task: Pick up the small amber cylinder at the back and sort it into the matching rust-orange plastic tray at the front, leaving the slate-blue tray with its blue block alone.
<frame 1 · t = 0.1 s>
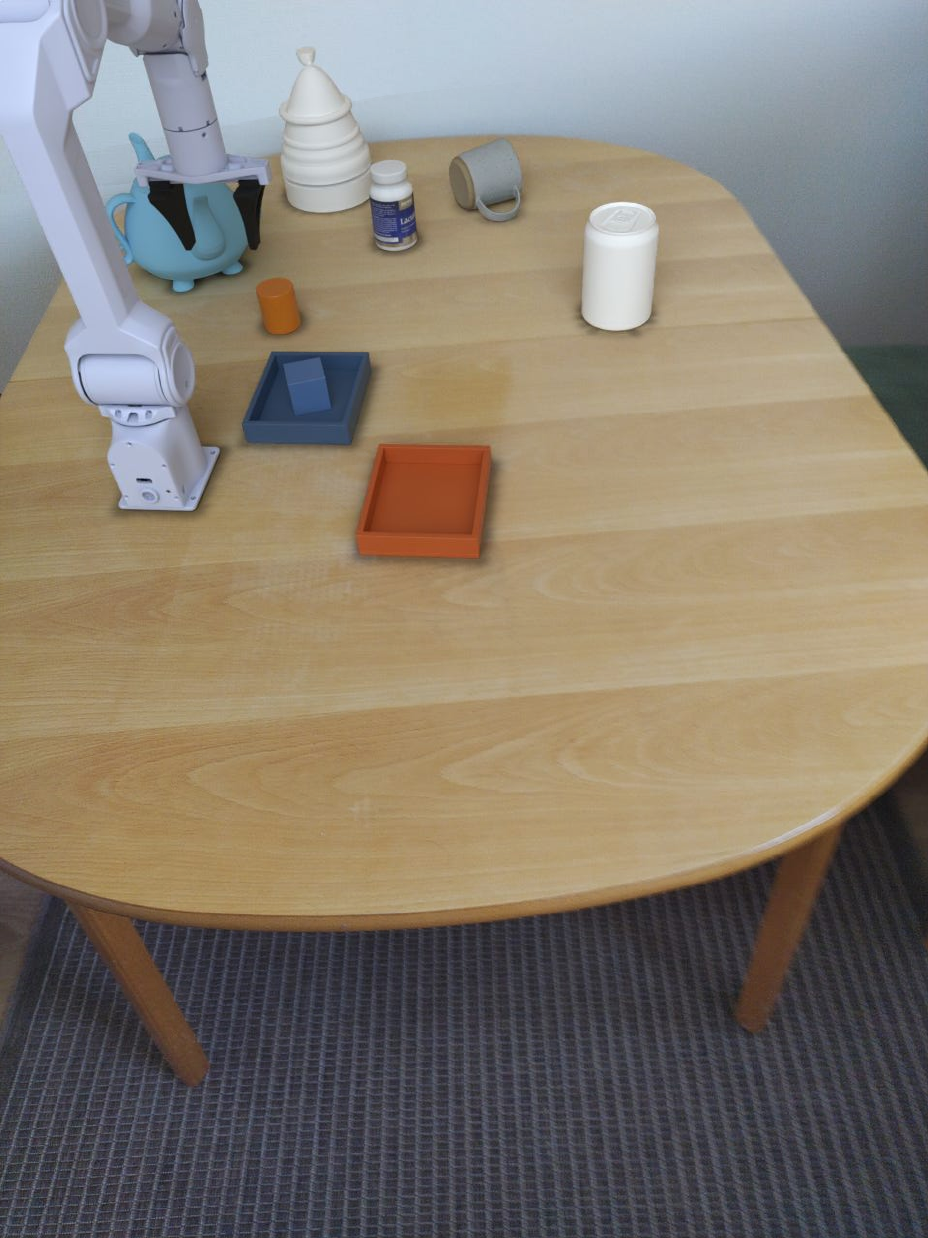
hand: (223, 245, 108), 10 cm above the table, tool pointing down, fingers open, 7 cm apart
ceramic mug: (492, 207, 132), on the table
honey pot: (331, 192, 138), on the table
blue block: (310, 401, 103), resting on blue tray
blue tray: (311, 405, 103), on the table
pill bottle: (397, 243, 126), on the table
orange tray: (428, 508, 91), on the table
beverage can: (615, 317, 111), on the table
teapot: (197, 267, 126), on the table
amber cylinder: (283, 324, 115), on the table
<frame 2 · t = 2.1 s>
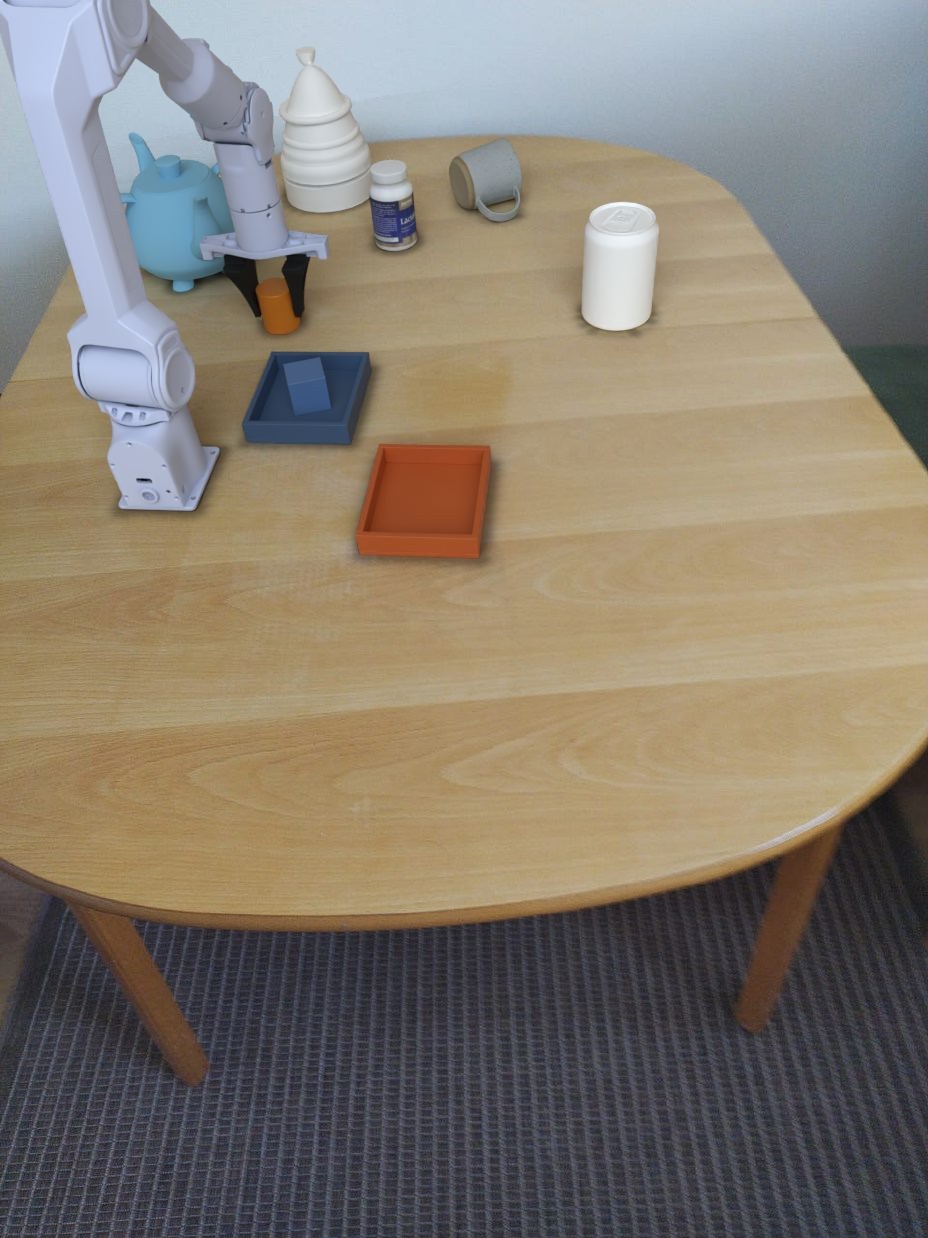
hand: (280, 312, 113), 2 cm above the table, tool pointing down, fingers closed on amber cylinder, 4 cm apart
amber cylinder: (282, 324, 115), on the table, touching gripper
everything else where it was.
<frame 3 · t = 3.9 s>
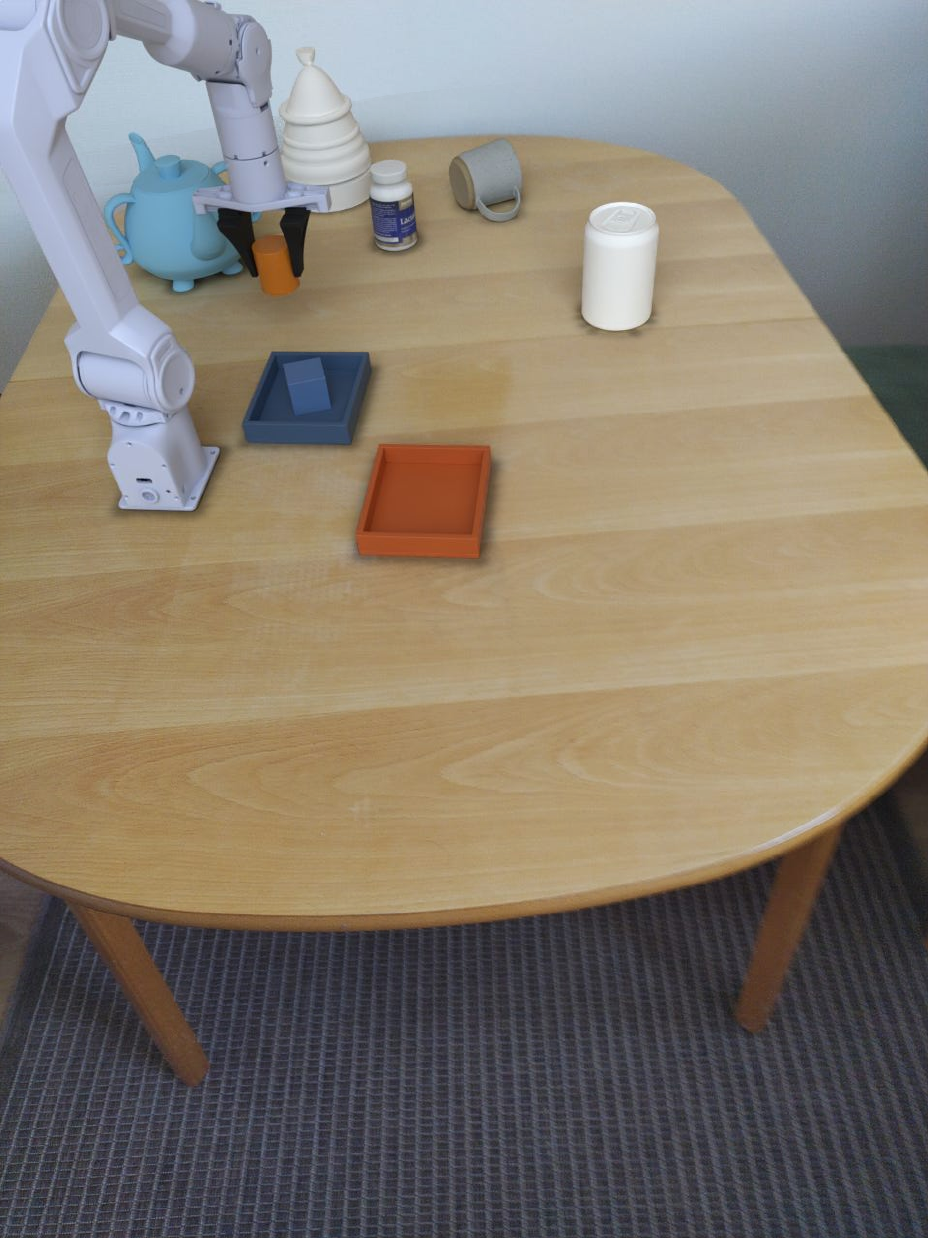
hand: (278, 272, 106), 8 cm above the table, tool pointing down, fingers closed on amber cylinder, 4 cm apart
amber cylinder: (280, 285, 108), point 7 cm above the table, touching gripper
everything else where it was.
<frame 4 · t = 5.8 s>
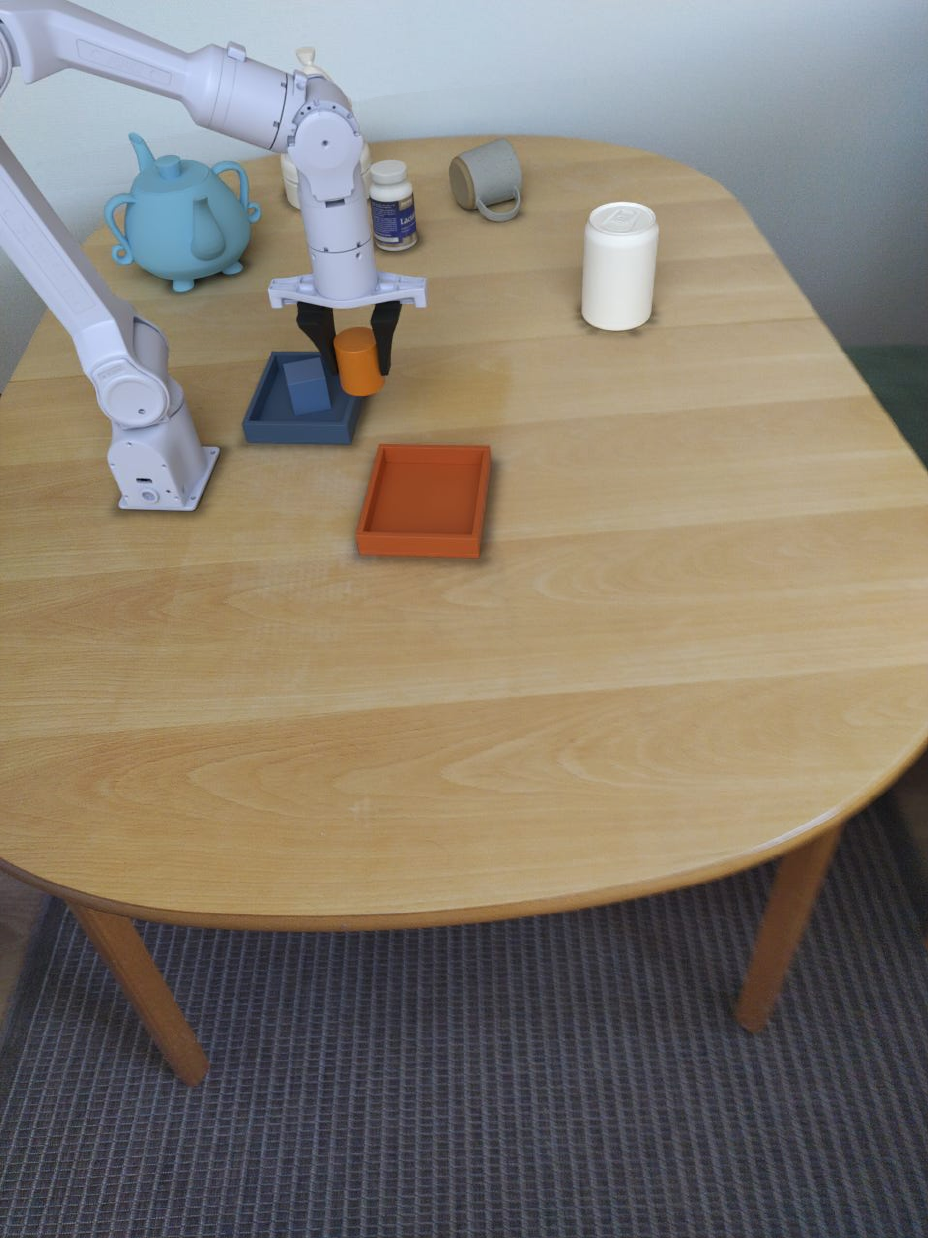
hand: (361, 369, 93), 8 cm above the table, tool pointing down, fingers closed on amber cylinder, 4 cm apart
amber cylinder: (363, 383, 94), point 7 cm above the table, touching gripper
everything else where it was.
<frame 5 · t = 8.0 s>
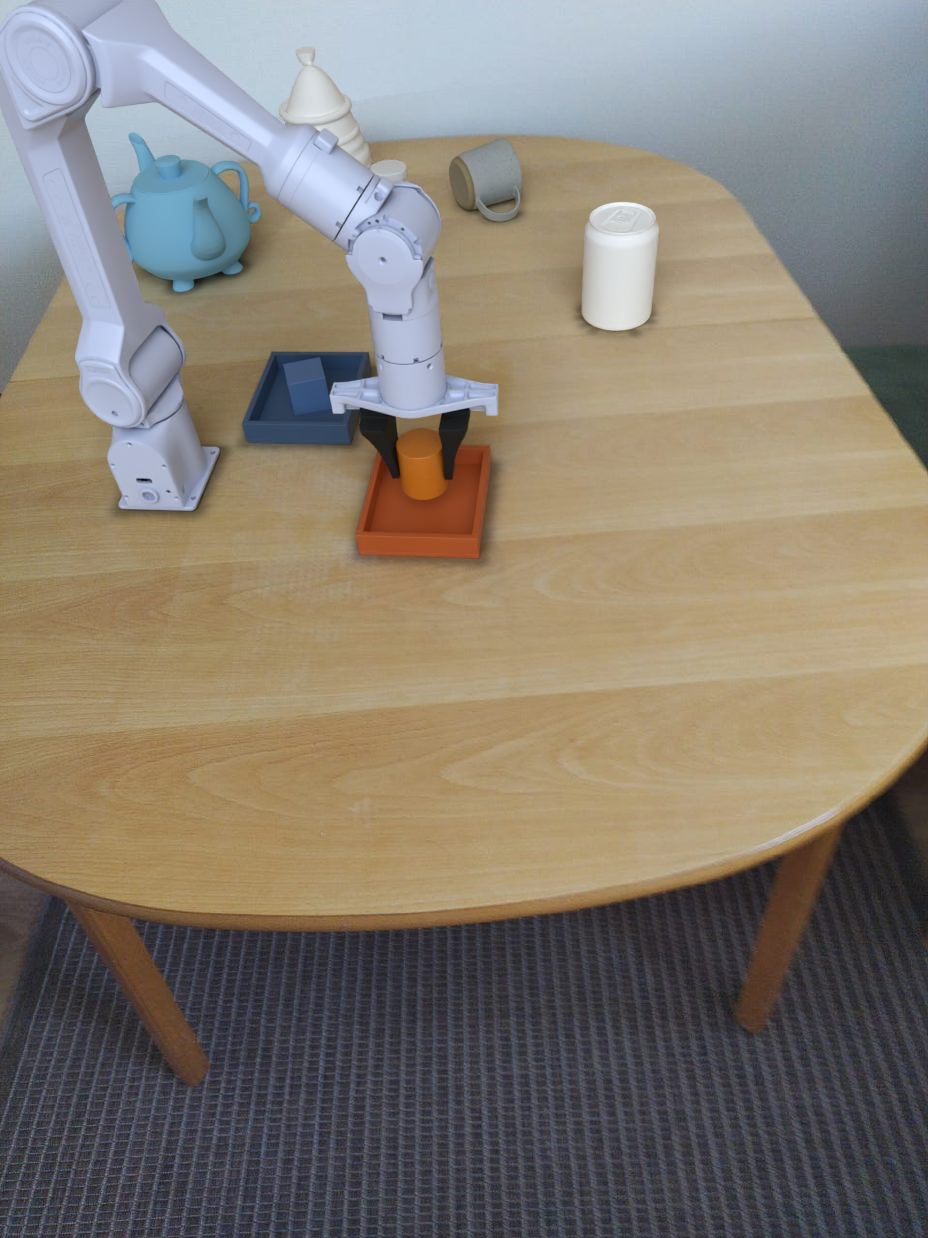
hand: (423, 472, 88), 5 cm above the table, tool pointing down, fingers closed on amber cylinder, 4 cm apart
amber cylinder: (425, 484, 89), point 3 cm above the table, touching gripper
everything else where it was.
when the fingers open (2 cm above the table, at t = 9.5 s): amber cylinder stays where it is, resting on orange tray.
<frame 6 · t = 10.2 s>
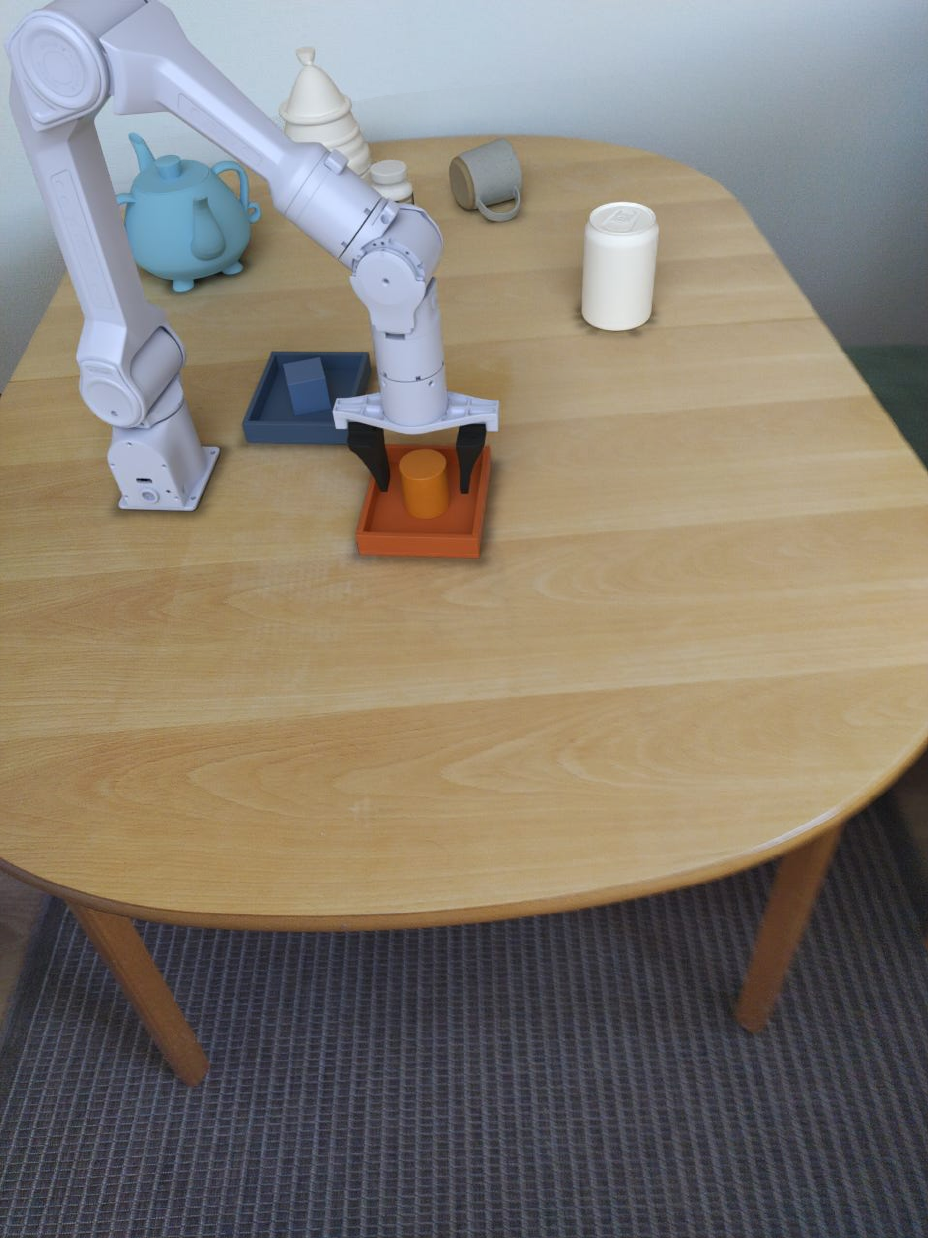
hand: (425, 485, 89), 3 cm above the table, tool pointing down, fingers open, 7 cm apart
amber cylinder: (427, 503, 91), resting on orange tray
everything else where it was.
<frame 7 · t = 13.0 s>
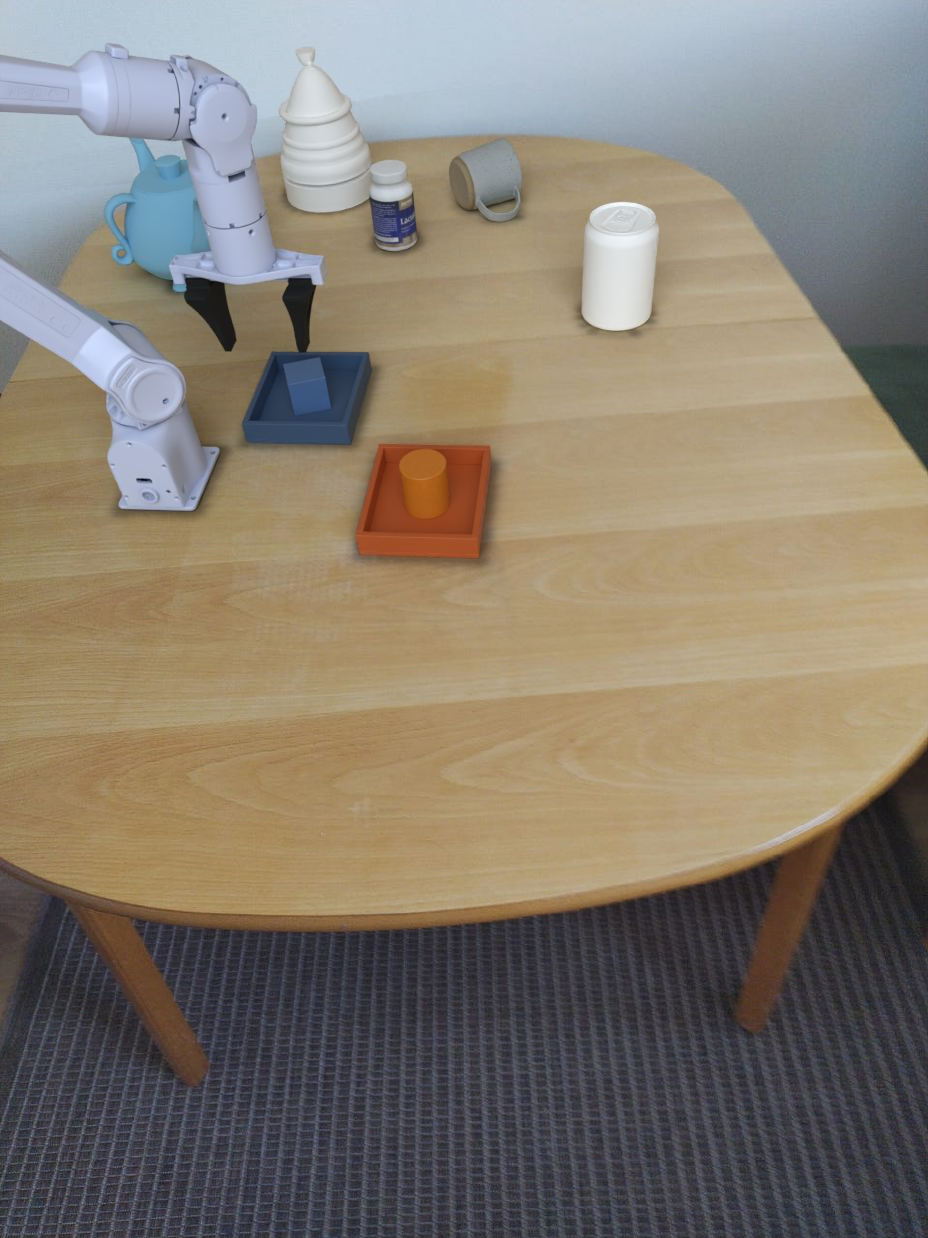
hand: (267, 346, 95), 9 cm above the table, tool pointing down, fingers open, 7 cm apart
nothing on the table moved.
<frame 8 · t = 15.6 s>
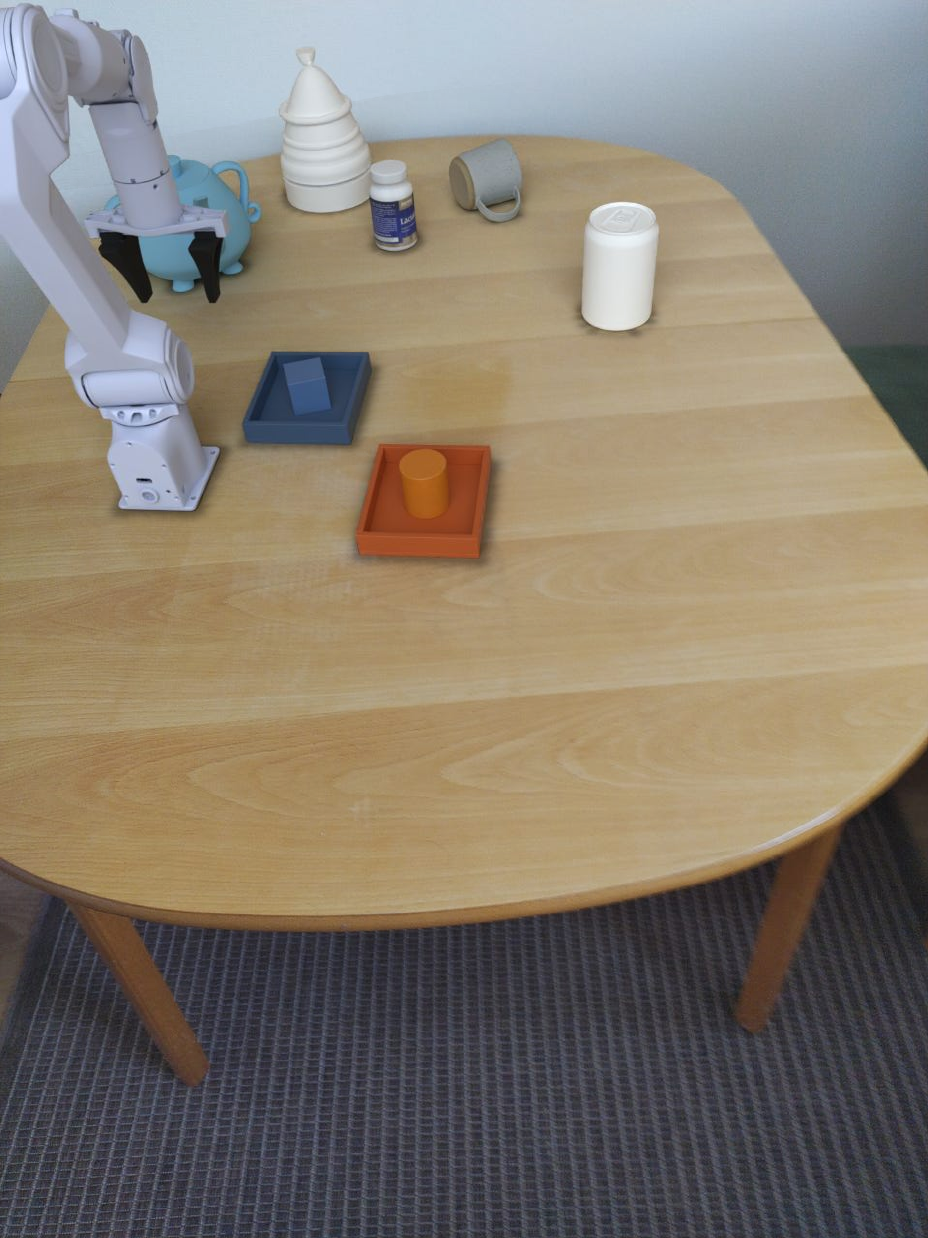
hand: (181, 298, 102), 9 cm above the table, tool pointing down, fingers open, 7 cm apart
nothing on the table moved.
at the end: amber cylinder inside the target area in the orange tray (0.1 cm from its centre), point 0.5 cm above the orange tray's base; amber cylinder tilted 0°; blue block inside the target area in the blue tray (0.0 cm from its centre), point 0.5 cm above the blue tray's base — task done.
